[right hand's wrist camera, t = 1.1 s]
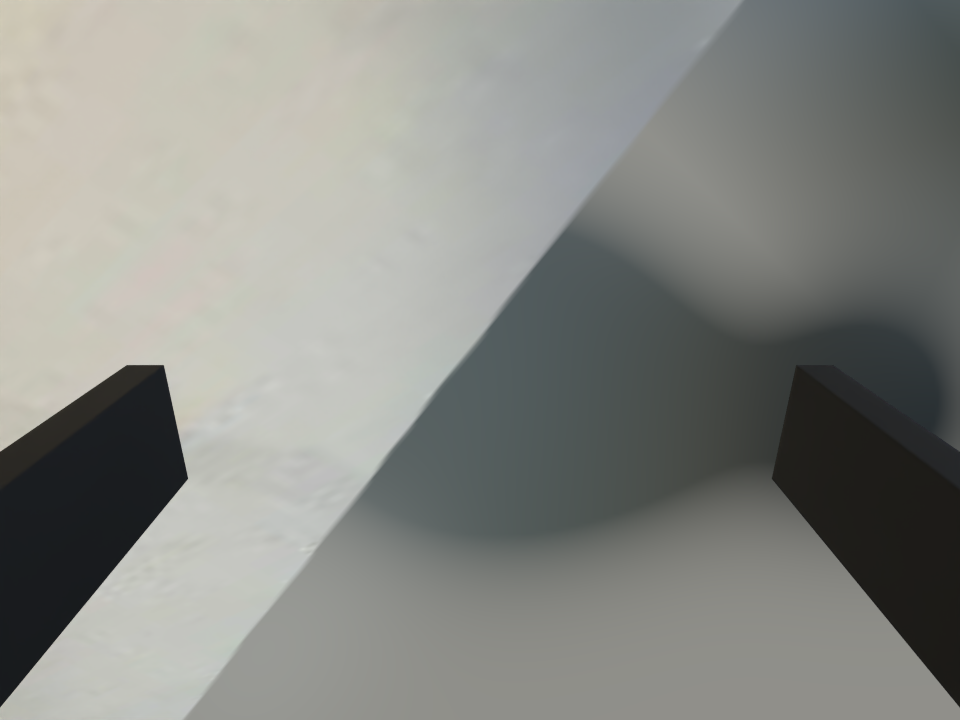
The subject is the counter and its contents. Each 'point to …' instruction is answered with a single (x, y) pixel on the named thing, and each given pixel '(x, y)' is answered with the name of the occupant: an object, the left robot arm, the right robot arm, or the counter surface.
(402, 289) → the counter surface
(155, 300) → the counter surface
